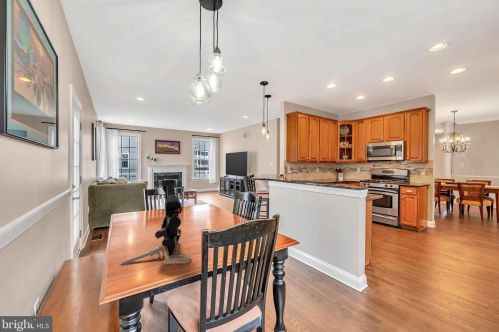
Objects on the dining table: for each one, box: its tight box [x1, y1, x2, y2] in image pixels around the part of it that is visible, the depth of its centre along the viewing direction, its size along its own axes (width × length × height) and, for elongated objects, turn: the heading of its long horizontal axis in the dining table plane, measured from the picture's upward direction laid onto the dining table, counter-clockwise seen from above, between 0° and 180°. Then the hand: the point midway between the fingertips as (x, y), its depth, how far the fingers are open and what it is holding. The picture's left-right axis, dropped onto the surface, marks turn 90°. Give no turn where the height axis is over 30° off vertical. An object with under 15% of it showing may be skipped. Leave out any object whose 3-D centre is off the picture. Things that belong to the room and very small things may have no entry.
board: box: [164, 254, 192, 265], centre depth 106 cm, size 4×12×2 cm, turn 98°
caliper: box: [119, 245, 165, 266], centre depth 107 cm, size 20×1×6 cm, turn 120°
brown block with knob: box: [166, 242, 179, 256], centre depth 112 cm, size 4×4×6 cm
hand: (172, 252), depth 112 cm, fingers open, 8 cm apart
